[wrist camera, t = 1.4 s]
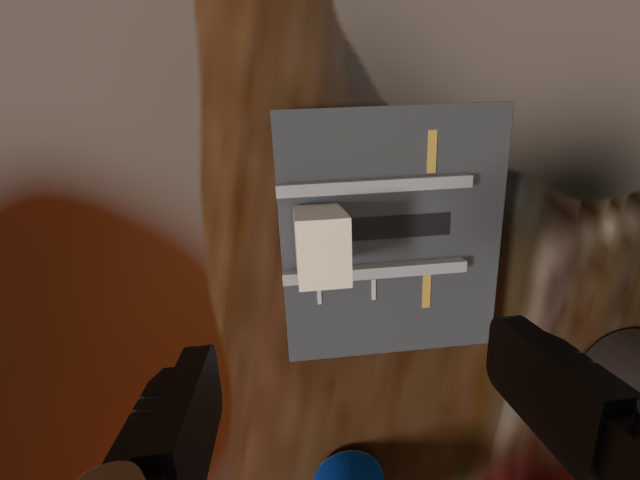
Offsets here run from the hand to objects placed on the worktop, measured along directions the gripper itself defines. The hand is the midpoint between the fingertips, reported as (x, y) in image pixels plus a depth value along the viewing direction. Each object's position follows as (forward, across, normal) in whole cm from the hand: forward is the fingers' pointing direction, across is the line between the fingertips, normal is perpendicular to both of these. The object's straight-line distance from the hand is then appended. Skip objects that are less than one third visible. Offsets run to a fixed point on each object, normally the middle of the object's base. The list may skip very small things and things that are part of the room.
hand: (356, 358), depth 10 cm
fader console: (+17, -6, +1) cm, 18 cm away
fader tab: (+14, 0, 0) cm, 14 cm away
